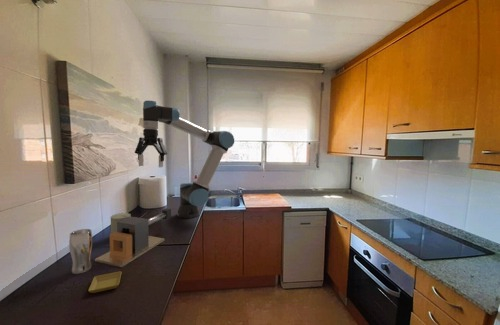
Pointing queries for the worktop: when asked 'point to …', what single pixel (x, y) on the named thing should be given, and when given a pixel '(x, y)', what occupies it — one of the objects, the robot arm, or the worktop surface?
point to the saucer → (105, 282)
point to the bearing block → (139, 241)
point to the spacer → (127, 244)
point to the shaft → (160, 216)
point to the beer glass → (80, 250)
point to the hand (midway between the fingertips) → (150, 166)
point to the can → (117, 220)
